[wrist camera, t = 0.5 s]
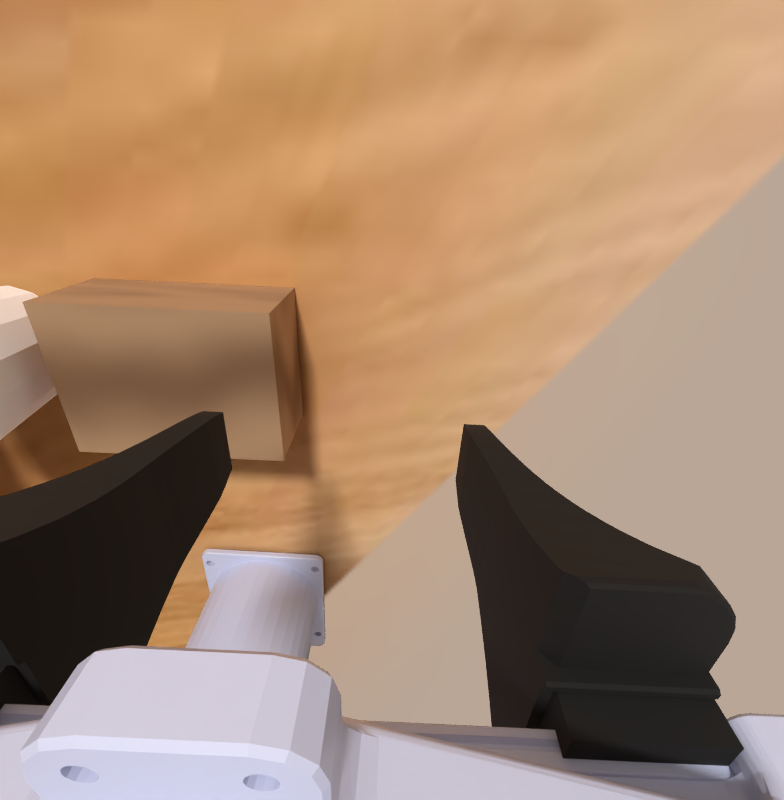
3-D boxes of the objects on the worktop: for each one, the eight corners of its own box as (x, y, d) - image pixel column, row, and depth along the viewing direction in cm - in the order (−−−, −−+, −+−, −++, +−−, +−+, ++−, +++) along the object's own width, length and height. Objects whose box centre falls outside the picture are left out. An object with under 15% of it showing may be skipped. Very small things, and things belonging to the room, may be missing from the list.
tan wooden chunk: (304, 412, 23) (283, 461, 19) (134, 405, 23) (79, 451, 19) (295, 286, 20) (269, 313, 16) (97, 277, 20) (22, 301, 16)
